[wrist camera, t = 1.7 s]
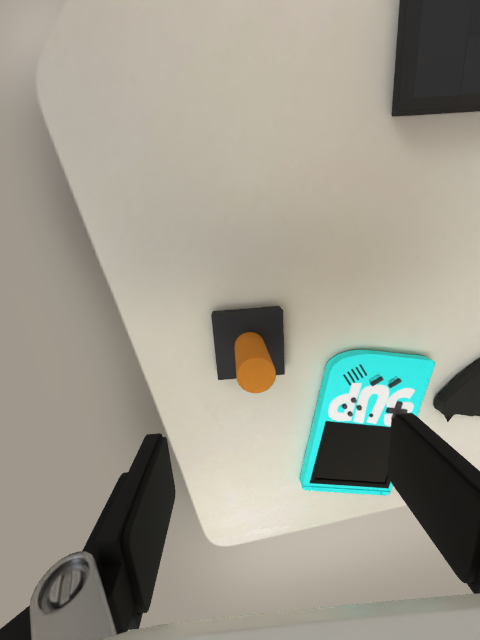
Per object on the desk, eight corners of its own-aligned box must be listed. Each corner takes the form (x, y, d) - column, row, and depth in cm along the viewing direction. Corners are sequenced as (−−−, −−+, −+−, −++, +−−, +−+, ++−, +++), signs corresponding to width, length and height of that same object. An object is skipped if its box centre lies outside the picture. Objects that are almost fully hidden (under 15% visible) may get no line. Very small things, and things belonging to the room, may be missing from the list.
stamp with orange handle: (212, 311, 22) (205, 336, 16) (279, 305, 23) (301, 328, 16) (218, 372, 24) (215, 419, 17) (281, 367, 24) (302, 411, 17)
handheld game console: (429, 356, 25) (441, 362, 23) (385, 487, 28) (392, 498, 27) (330, 345, 24) (336, 350, 22) (298, 481, 28) (302, 493, 26)
